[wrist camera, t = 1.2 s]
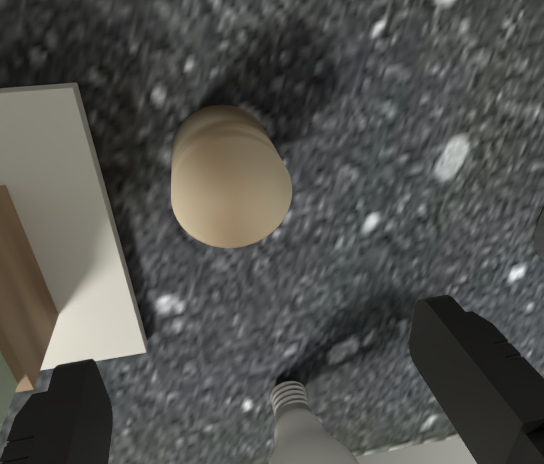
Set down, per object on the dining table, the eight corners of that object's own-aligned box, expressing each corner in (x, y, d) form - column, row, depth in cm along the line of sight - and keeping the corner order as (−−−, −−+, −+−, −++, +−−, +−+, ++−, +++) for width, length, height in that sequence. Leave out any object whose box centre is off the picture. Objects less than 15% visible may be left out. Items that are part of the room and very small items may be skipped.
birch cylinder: (267, 100, 21) (291, 132, 16) (271, 191, 23) (292, 239, 19) (164, 109, 20) (161, 145, 16) (179, 202, 22) (181, 255, 18)
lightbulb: (243, 362, 30) (275, 536, 21) (329, 350, 31) (395, 510, 22) (244, 418, 33) (271, 589, 24) (321, 406, 34) (375, 564, 25)
